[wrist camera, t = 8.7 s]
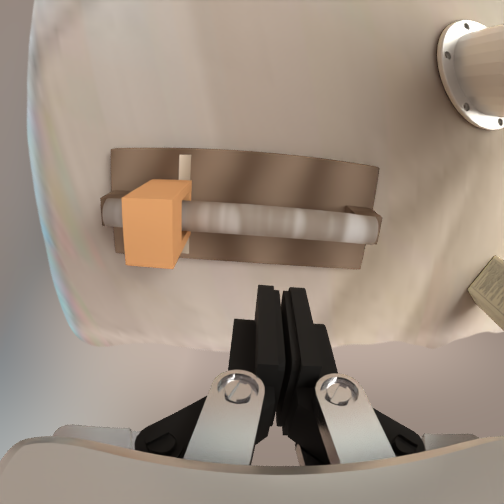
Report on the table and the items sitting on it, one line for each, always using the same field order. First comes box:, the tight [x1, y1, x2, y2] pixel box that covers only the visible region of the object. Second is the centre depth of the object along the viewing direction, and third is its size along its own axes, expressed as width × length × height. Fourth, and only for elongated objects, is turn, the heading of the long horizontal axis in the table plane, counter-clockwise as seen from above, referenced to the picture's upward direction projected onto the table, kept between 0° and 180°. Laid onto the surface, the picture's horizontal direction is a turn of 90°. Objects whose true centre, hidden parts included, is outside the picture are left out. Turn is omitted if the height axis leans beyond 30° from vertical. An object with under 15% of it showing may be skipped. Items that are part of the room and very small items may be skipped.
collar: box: [121, 179, 192, 269], centre depth 23 cm, size 4×5×7 cm
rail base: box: [100, 148, 382, 269], centre depth 25 cm, size 24×10×5 cm, turn 86°
